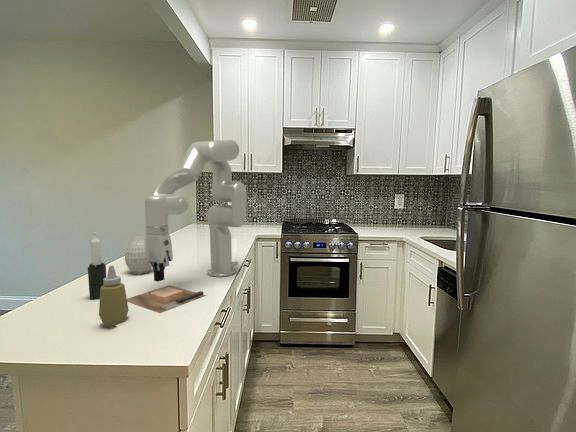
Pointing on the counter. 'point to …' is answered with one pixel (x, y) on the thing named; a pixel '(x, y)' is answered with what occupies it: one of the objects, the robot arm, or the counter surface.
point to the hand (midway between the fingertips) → (159, 280)
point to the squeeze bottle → (112, 300)
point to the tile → (166, 295)
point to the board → (153, 305)
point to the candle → (96, 270)
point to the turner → (180, 301)
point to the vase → (137, 256)
